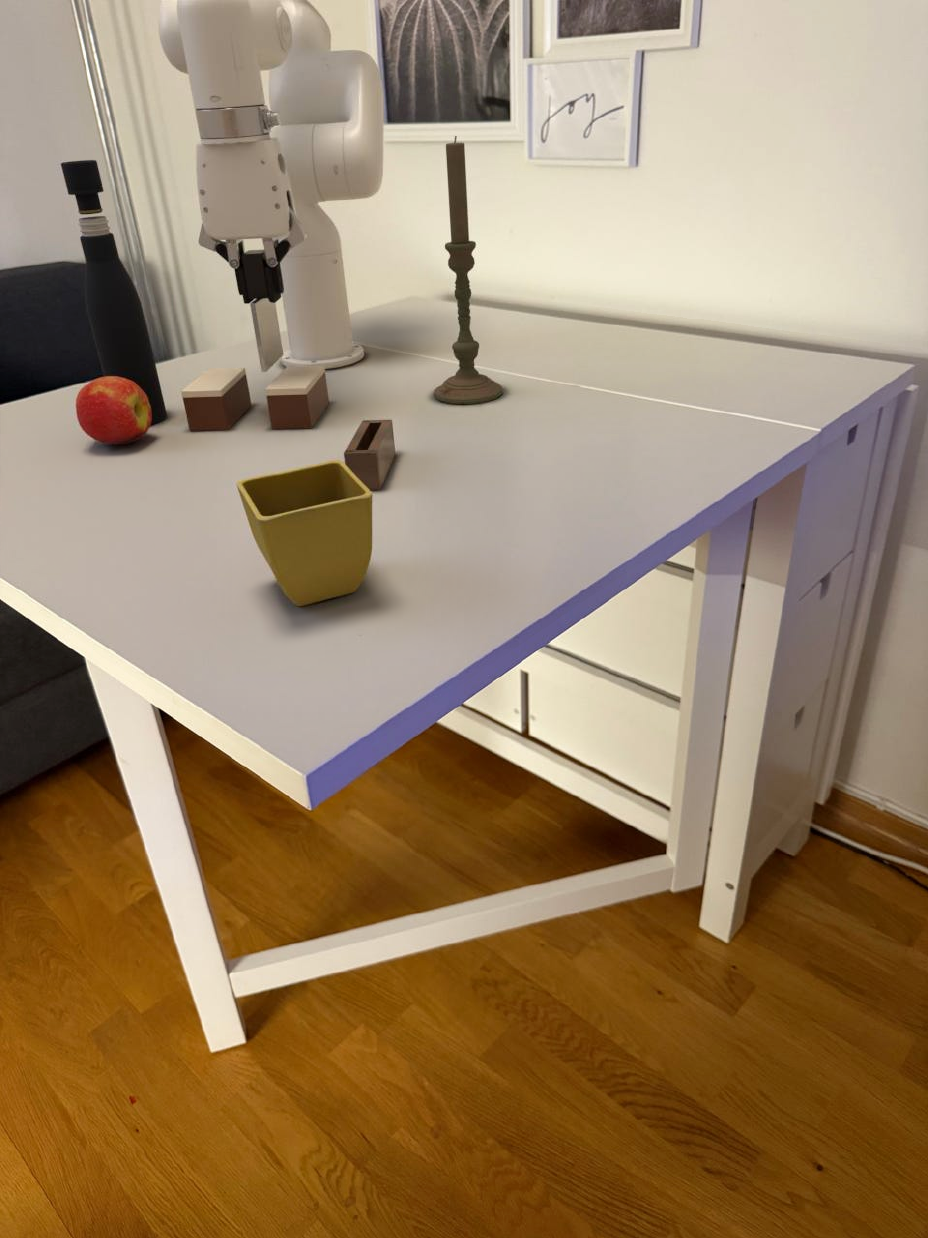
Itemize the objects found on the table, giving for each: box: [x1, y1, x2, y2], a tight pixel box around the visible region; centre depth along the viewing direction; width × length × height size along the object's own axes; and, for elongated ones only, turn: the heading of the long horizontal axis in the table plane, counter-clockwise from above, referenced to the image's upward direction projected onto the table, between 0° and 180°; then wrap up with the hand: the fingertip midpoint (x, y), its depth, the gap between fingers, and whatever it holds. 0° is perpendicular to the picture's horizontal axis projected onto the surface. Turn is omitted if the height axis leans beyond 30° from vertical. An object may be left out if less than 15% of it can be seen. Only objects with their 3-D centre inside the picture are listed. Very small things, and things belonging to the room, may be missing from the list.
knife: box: [241, 249, 284, 373], centre depth 108 cm, size 8×2×13 cm, turn 175°
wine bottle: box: [60, 159, 168, 426], centre depth 109 cm, size 6×6×30 cm
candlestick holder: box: [433, 135, 504, 405], centre depth 111 cm, size 9×9×30 cm
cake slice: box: [264, 366, 330, 430], centre depth 113 cm, size 10×5×5 cm, turn 175°
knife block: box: [343, 419, 396, 491], centre depth 95 cm, size 10×3×4 cm, turn 175°
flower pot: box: [235, 459, 373, 607], centre depth 71 cm, size 9×9×9 cm
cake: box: [180, 367, 252, 432], centre depth 114 cm, size 10×5×5 cm, turn 175°
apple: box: [75, 376, 152, 446], centre depth 107 cm, size 8×8×8 cm
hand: (262, 299), depth 108 cm, fingers closed on knife, 2 cm apart
